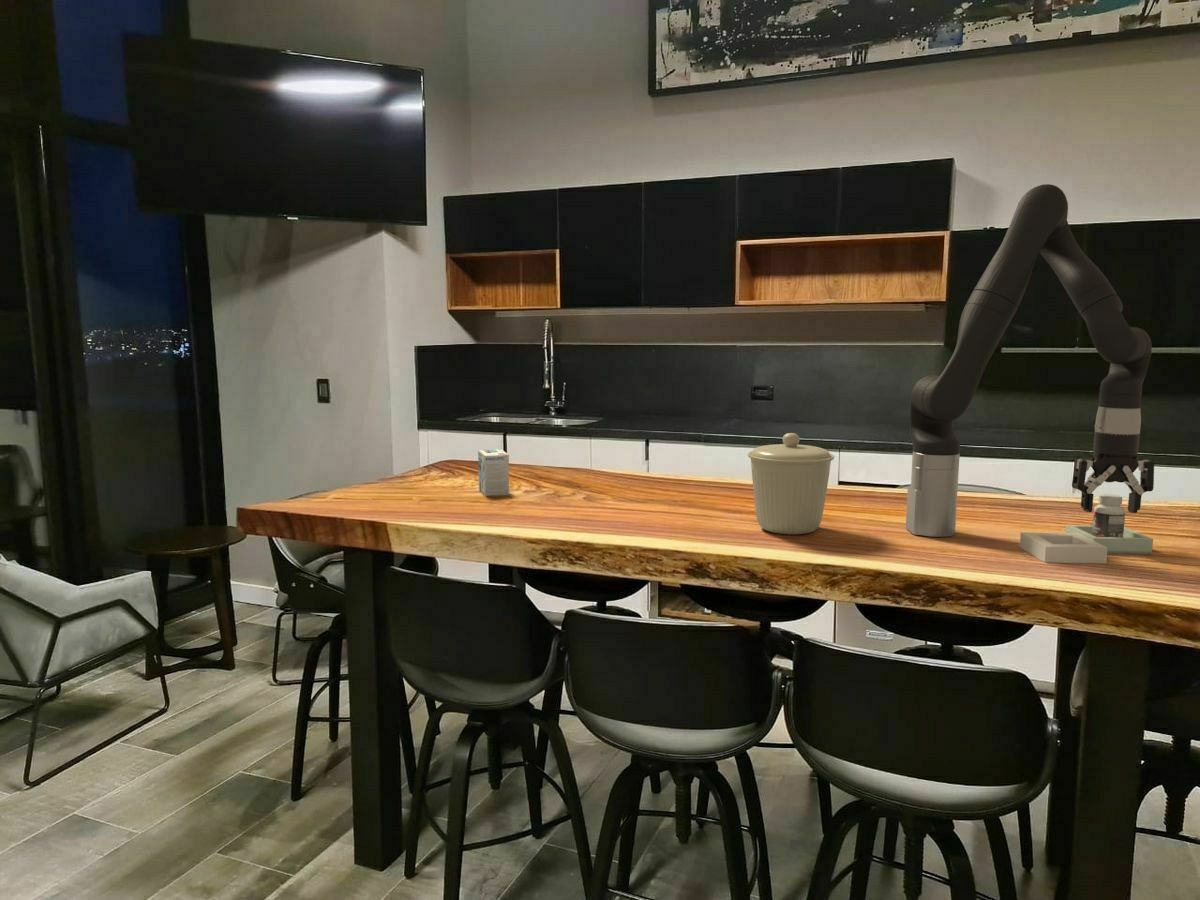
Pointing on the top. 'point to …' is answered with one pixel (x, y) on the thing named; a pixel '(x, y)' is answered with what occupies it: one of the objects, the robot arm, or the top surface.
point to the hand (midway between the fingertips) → (1109, 511)
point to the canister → (790, 485)
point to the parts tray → (1117, 540)
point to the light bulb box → (493, 472)
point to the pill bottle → (1108, 517)
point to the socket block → (1063, 547)
